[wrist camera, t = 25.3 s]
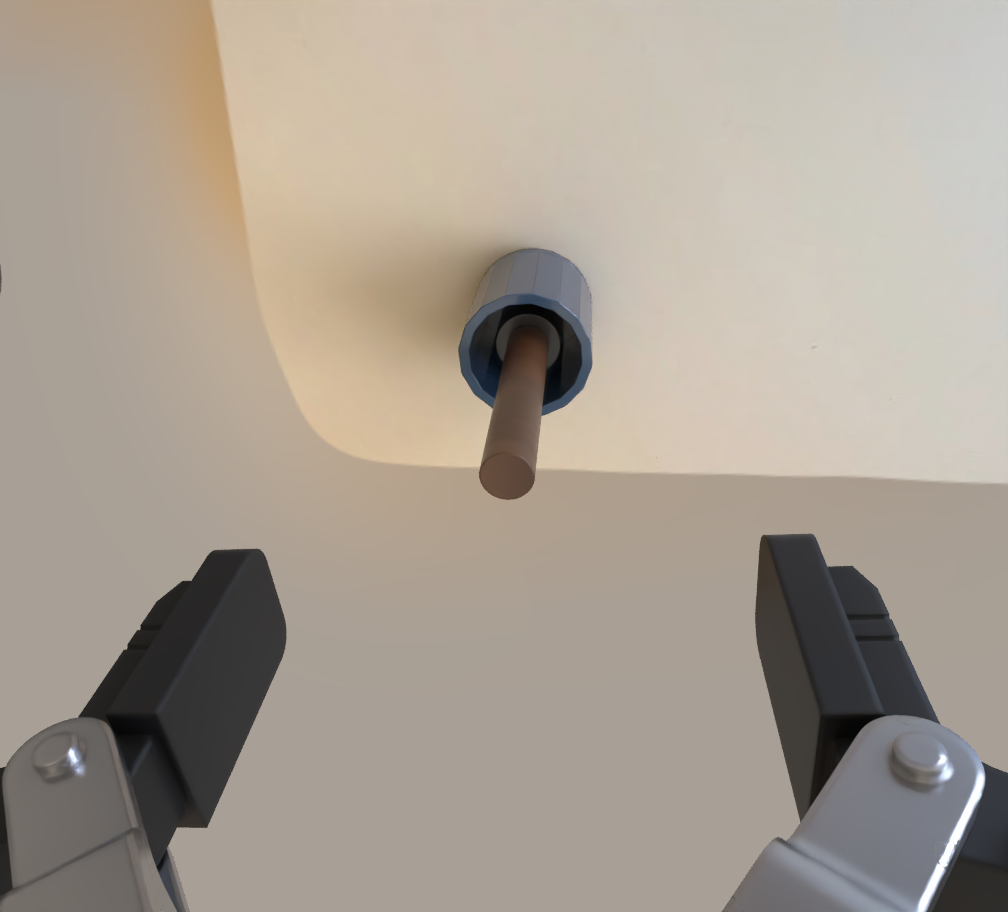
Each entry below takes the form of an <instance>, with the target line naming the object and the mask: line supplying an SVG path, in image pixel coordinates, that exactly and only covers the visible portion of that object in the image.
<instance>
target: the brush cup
mask: <svg viewBox="0 0 1008 912" xmlns="http://www.w3.org/2000/svg"><path fill="white" fill-rule="evenodd" d="M521 304H534V305H537V306H540V307H543V308H546V309H549V310H553V311H554V312H555V313H557V314H558V315H559V316H560V317H561V318H563V331H562V344H561V351H560V355H559V357H558V359H557V360H556V362H555V363H554V364H553V365H552V366H551V367H550V368H549V369H547V370H546V377H545V387H544V396H543V405H542V415H541V416H543V415H546V414H548V413H551V412H553V411H555V410H558V409H560V408H562V407H564V406H566V405H567V404H568V403H569V402H570V401H571V400H572V399H573V398H574V397H575V396H576V395H577V394H578V393H579V392H580V391H581V390H582V389H583V388H584V386H585V383H586V381H587V378H588V376H589V373H590V371H591V368H592V305H591V294H590V290H589V287H588V284H587V282H586V280H585V278H584V277H583V275H582V273H581V272H580V271H579V270H578V268H577V267H576V266H575V265H574V264H573V263H571V262H570V261H569V260H567V259H566V258H564V257H563V256H561V255H559V254H557V253H554V252H551V251H547V250H543V249H524V250H519V251H515V252H512V253H510V254H508V255H506V256H504V257H502V258H501V259H499V260H498V261H497V262H495V263H494V264H493V265H492V266H491V267H490V268H489V269H488V271H487V272H486V274H485V275H484V277H483V278H482V280H481V281H480V284H479V287H478V290H477V293H476V296H475V298H474V301H473V304H472V307H471V310H470V313H469V316H468V319H467V322H466V325H465V328H464V331H463V334H462V338H461V341H460V345H459V350H458V352H459V359H460V366H461V372H462V375H463V377H464V378H465V380H466V382H467V383H468V385H469V386H470V388H471V390H472V391H473V393H474V394H475V395H476V396H477V397H478V398H480V399H481V400H482V401H484V402H485V403H486V404H488V405H489V406H490V407H492V408H493V407H494V402H495V397H496V393H497V388H498V384H499V379H500V374H501V370H502V365H503V362H502V361H501V360H500V358H499V356H498V354H497V351H496V347H495V339H496V335H497V331H498V327H499V323H500V319H501V315H502V311H503V308H504V307H506V306H508V305H521Z"/></svg>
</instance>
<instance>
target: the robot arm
mask: <svg viewBox="0 0 1008 912" xmlns="http://www.w3.org/2000/svg"><path fill="white" fill-rule="evenodd" d="M755 623H756V637H757V645H758V651H759V655H760V659H761V663H762V667H763V671H764V675H765V680H766V683H767V688H768V691H769V696H770V700H771V704H772V708H773V712H774V716H775V720H776V724H777V728H778V732H779V736H780V740H781V744H782V749H783V752H784V757H785V761H786V765H787V769H788V773H789V776H790V781H791V785H792V789H793V793H794V797H795V801H796V806H797V810H798V814H799V818H800V824H799V826H798V827H797V829H796V830H795V832H794V833H793V835H792V836H791V837H790V838H789V839H788V840H787V841H785V840H783V839H782V838H779V837H777V838H775V839H774V840H772V841H771V842H770V843H769V844H768V845H767V846H766V847H765V849H764V850H763V851H762V853H761V854H760V855H759V857H758V859H757V860H756V861H755V863H754V864H753V866H752V867H751V869H750V870H749V872H748V873H747V875H746V876H745V878H744V879H743V881H742V882H741V884H740V885H739V887H738V888H737V890H736V891H735V893H734V894H733V896H732V897H731V899H730V900H729V902H728V903H727V905H726V906H725V908H724V909H723V911H722V912H1008V773H1006V772H1003V771H1001V770H998V769H996V768H993V767H991V766H989V765H987V764H985V763H983V762H981V761H980V758H979V757H978V755H977V754H976V752H975V751H974V750H973V749H972V748H971V746H970V745H969V744H968V743H967V742H966V741H965V740H963V739H962V738H961V737H960V736H959V735H957V734H956V733H954V732H953V731H951V730H950V729H948V728H946V727H944V726H942V725H941V724H940V723H939V721H938V719H937V717H936V715H935V712H934V710H933V708H932V706H931V704H930V702H929V700H928V697H927V695H926V693H925V691H924V689H923V686H922V684H921V682H920V680H919V678H918V676H917V673H916V671H915V669H914V667H913V665H912V662H911V660H910V658H909V656H908V654H907V652H906V650H905V647H904V645H903V643H902V641H899V634H898V632H897V630H896V628H895V626H894V624H893V621H892V620H891V619H890V618H889V613H888V610H887V608H886V607H885V604H884V602H883V600H882V597H881V595H880V593H879V591H878V589H877V588H876V587H875V586H874V585H873V584H872V583H871V582H870V581H868V580H867V579H866V578H865V577H864V576H863V575H862V574H860V573H859V572H858V571H857V570H856V569H855V568H854V567H853V566H835V567H827V565H826V563H825V560H824V557H823V555H822V553H821V550H820V547H819V545H818V542H817V540H816V538H815V536H814V535H813V534H788V535H786V534H785V535H763V536H762V537H761V542H760V550H759V565H758V581H757V597H756V612H755ZM285 645H286V623H285V618H284V615H283V611H282V608H281V605H280V602H279V598H278V595H277V592H276V589H275V585H274V582H273V579H272V576H271V573H270V569H269V566H268V563H267V560H266V557H265V555H264V553H263V552H262V551H261V550H260V549H233V550H214V551H212V552H211V553H210V554H209V555H208V556H207V558H206V559H205V561H204V563H203V564H202V565H201V567H200V568H199V570H198V572H197V573H196V575H195V576H194V578H193V579H192V581H182V582H181V583H180V584H178V585H177V586H176V587H174V588H173V589H172V590H171V591H169V592H168V593H167V594H166V595H165V596H163V597H162V598H161V599H160V600H158V601H157V602H156V604H155V605H154V606H153V608H152V609H151V611H150V612H149V614H148V615H147V617H146V618H145V620H144V621H143V623H142V624H141V629H140V630H137V631H136V633H135V634H134V636H133V637H132V639H131V640H130V642H129V643H128V648H127V650H123V652H122V654H121V655H120V656H119V658H118V660H117V661H116V662H115V664H114V665H113V667H112V668H111V670H110V671H109V673H108V674H107V675H106V677H105V678H104V680H103V681H102V683H101V684H100V686H99V687H98V689H97V690H96V692H95V693H94V695H93V697H92V698H91V699H90V701H89V702H88V704H87V705H86V707H85V708H84V709H83V711H82V712H81V714H80V715H79V717H78V718H73V719H69V720H65V721H62V722H59V723H57V724H54V725H52V726H50V727H48V728H46V729H44V730H42V731H41V732H39V733H37V734H36V735H34V736H33V737H32V738H30V739H29V740H28V741H26V742H25V743H24V744H23V745H22V746H21V747H20V748H19V749H18V750H17V751H16V752H15V753H14V755H13V756H12V757H11V759H10V760H9V762H8V763H7V766H6V767H3V768H0V912H190V911H189V908H188V904H187V901H186V898H185V894H184V891H183V888H182V885H181V881H180V878H179V875H178V871H177V868H176V865H175V861H174V859H173V856H172V853H171V851H170V850H169V847H168V845H169V843H170V841H171V839H172V837H173V834H174V832H175V830H176V828H177V827H189V828H207V826H208V824H209V822H210V819H211V817H212V815H213V813H214V811H215V808H216V806H217V804H218V802H219V799H220V797H221V795H222V793H223V790H224V788H225V786H226V783H227V781H228V779H229V777H230V775H231V772H232V770H233V768H234V766H235V763H236V761H237V759H238V757H239V754H240V752H241V749H242V747H243V745H244V743H245V741H246V739H247V736H248V734H249V731H250V729H251V727H252V725H253V722H254V720H255V718H256V716H257V714H258V711H259V709H260V707H261V705H262V702H263V700H264V698H265V696H266V693H267V691H268V689H269V686H270V684H271V682H272V680H273V678H274V675H275V673H276V671H277V669H278V666H279V664H280V662H281V660H282V657H283V654H284V650H285Z"/></svg>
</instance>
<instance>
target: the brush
mask: <svg viewBox="0 0 1008 912" xmlns="http://www.w3.org/2000/svg"><path fill="white" fill-rule="evenodd" d="M562 331H563V318H561V317H560V316H559V315H558V314H557V313H555V312H554V311H553V310H549V309H546V308H543V307H540V306H537V305H534V304H521V305H508V306H506V307H504V308H503V311H502V315H501V319H500V323H499V327H498V331H497V335H496V339H495V347H496V351H497V354H498V356H499V358H500V360H501V361H502V362H503V365H502V370H501V374H500V379H499V384H498V388H497V393H496V397H495V402H494V407H493V411H492V416H491V420H490V425H489V430H488V434H487V439H486V443H485V448H484V453H483V457H482V462H481V466H480V472H479V478H480V481H481V484H482V486H483V487H484V489H485V490H486V491H487V492H488V493H490V494H491V495H493V496H495V497H497V498H500V499H506V500H510V499H517V498H519V497H522V496H523V495H525V494H526V493H527V492H528V491H529V490H530V489H531V488H532V486H533V484H534V479H535V471H536V462H537V452H538V443H539V433H540V424H541V415H542V405H543V396H544V387H545V377H546V370H547V369H549V368H550V367H551V366H552V365H553V364H554V363H555V362H556V360H557V359H558V357H559V355H560V351H561V344H562Z"/></svg>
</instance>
